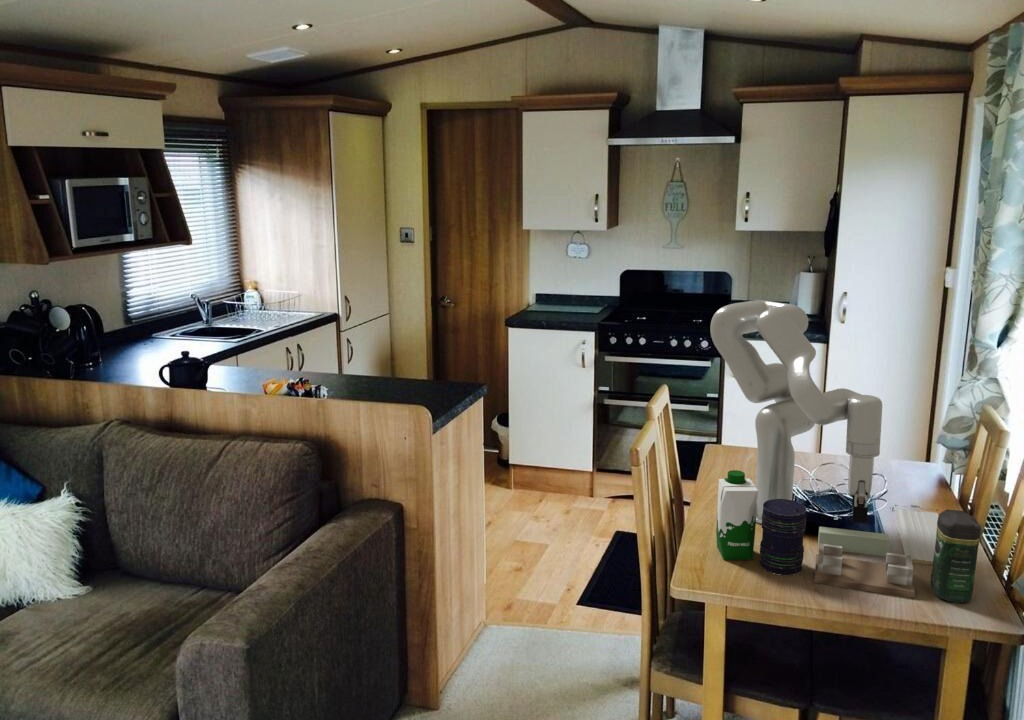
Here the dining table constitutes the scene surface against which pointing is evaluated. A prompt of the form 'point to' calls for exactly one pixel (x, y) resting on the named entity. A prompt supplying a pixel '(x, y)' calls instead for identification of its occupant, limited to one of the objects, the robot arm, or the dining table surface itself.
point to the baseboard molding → (917, 533)
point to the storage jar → (782, 536)
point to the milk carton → (736, 516)
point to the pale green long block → (855, 540)
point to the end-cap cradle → (865, 572)
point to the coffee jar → (955, 556)
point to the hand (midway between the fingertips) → (859, 514)
